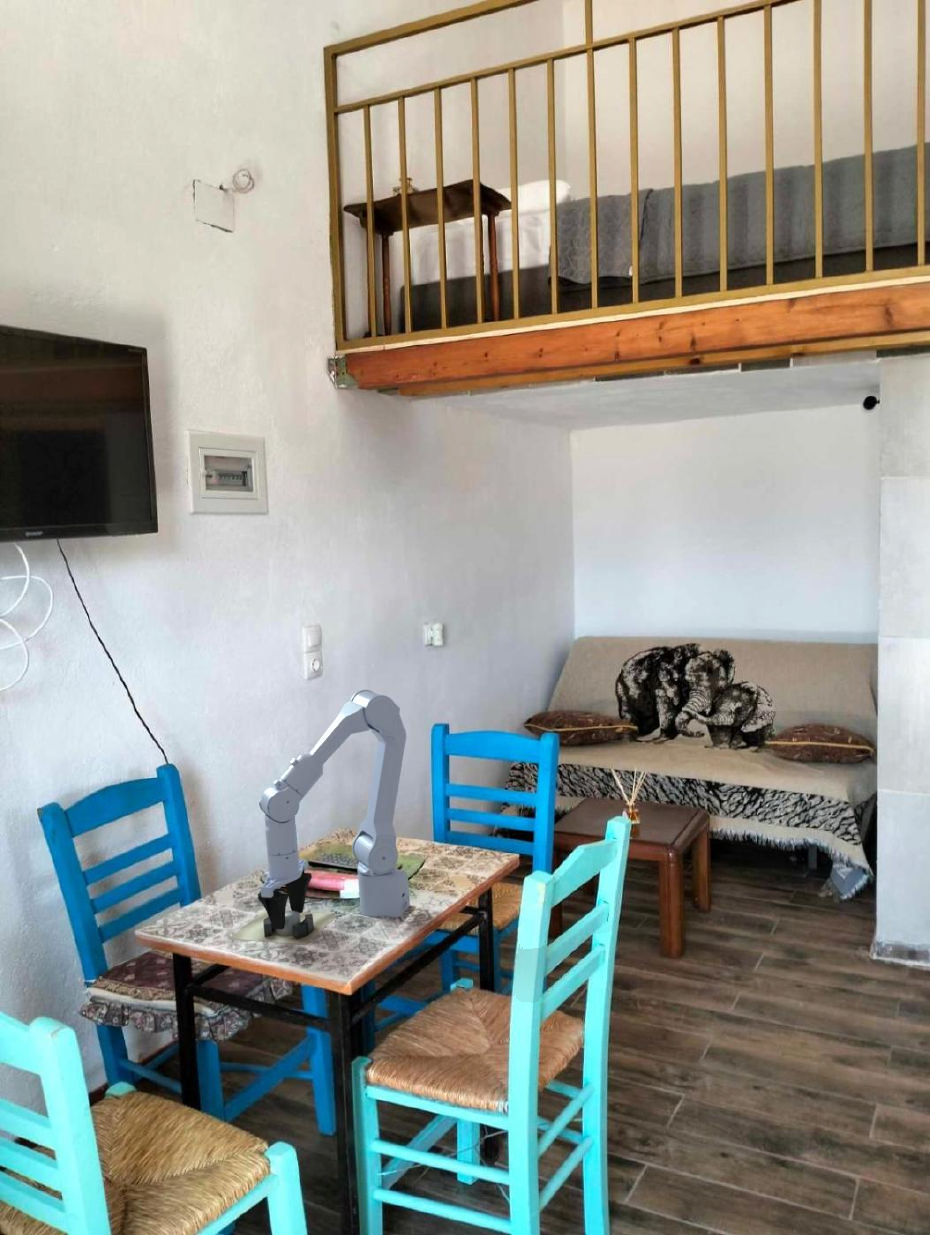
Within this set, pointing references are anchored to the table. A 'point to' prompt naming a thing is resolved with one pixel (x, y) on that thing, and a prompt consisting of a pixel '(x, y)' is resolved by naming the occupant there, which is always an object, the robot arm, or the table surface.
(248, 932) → the board
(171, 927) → the table surface
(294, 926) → the split dark grey block
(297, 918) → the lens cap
